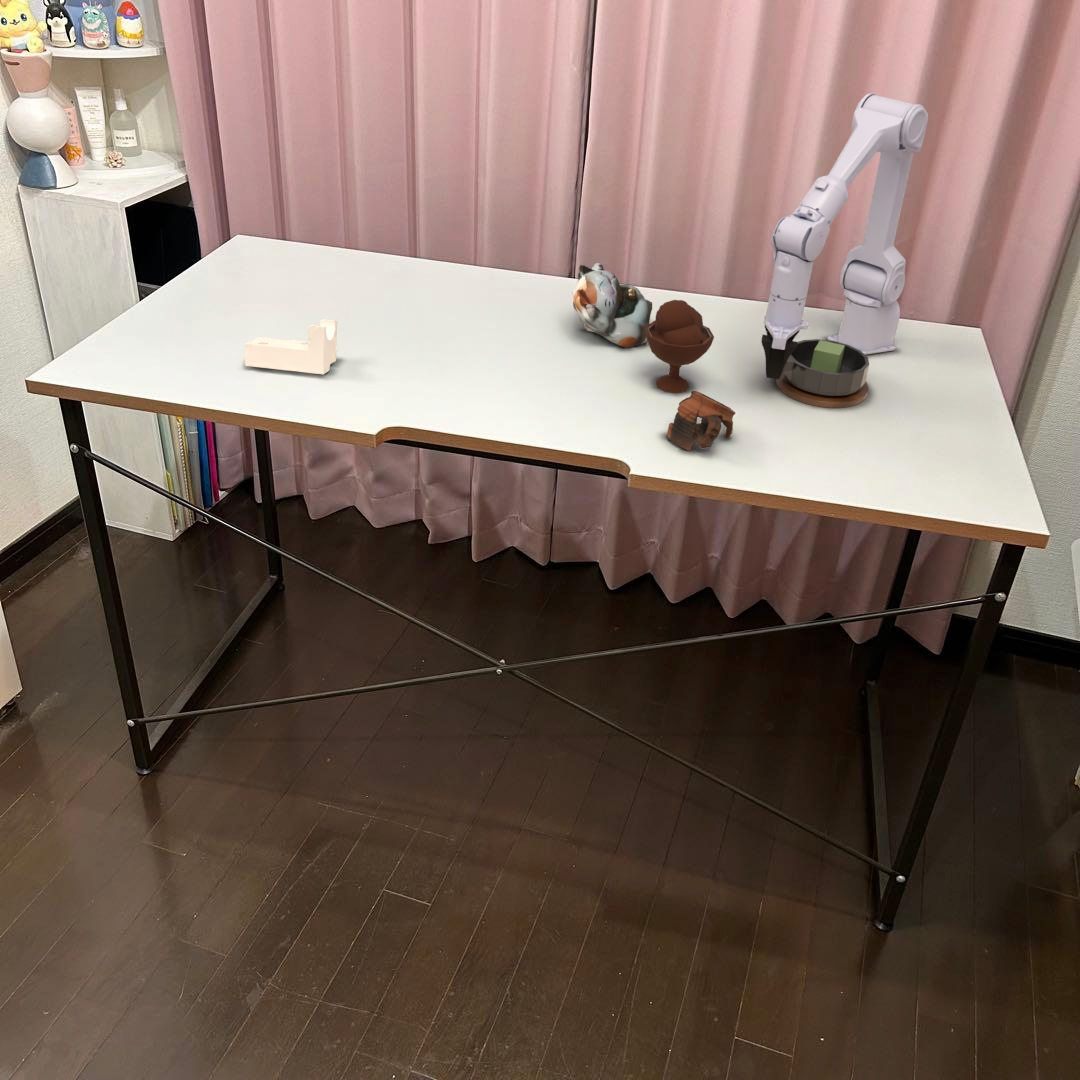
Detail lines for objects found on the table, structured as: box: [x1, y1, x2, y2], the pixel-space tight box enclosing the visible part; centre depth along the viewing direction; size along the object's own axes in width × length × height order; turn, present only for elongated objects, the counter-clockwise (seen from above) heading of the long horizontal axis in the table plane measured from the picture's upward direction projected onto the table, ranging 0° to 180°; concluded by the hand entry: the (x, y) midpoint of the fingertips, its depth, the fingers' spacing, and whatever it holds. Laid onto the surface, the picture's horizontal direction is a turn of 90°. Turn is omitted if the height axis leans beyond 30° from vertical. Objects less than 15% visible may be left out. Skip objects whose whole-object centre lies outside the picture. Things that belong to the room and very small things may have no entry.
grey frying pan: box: [783, 338, 870, 396], centre depth 188 cm, size 17×13×4 cm
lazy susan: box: [776, 372, 869, 409], centre depth 190 cm, size 15×15×1 cm
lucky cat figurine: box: [571, 262, 653, 349], centre depth 200 cm, size 15×12×14 cm
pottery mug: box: [666, 390, 736, 452], centre depth 171 cm, size 12×10×8 cm
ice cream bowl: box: [645, 299, 715, 394], centre depth 183 cm, size 11×11×15 cm
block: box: [811, 339, 845, 373], centre depth 187 cm, size 4×4×5 cm
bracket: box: [244, 318, 338, 375], centre depth 185 cm, size 13×7×8 cm, turn 82°
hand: (773, 372), depth 186 cm, fingers closed on grey frying pan, 4 cm apart
